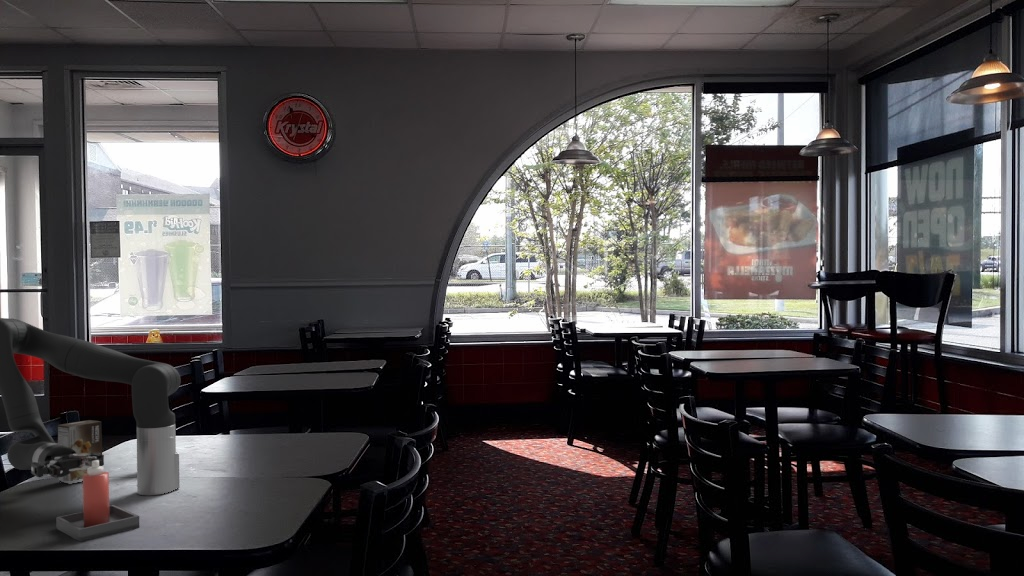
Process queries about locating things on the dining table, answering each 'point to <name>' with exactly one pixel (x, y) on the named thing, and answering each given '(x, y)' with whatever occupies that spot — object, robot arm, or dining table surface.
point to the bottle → (96, 495)
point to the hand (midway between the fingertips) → (79, 468)
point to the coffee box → (80, 442)
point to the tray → (118, 523)
